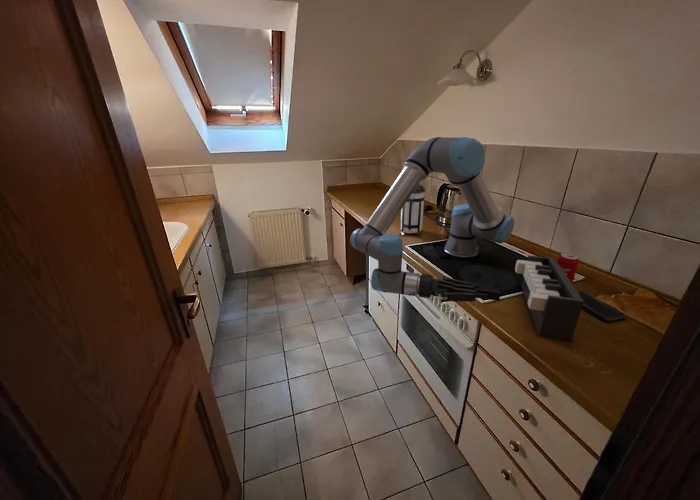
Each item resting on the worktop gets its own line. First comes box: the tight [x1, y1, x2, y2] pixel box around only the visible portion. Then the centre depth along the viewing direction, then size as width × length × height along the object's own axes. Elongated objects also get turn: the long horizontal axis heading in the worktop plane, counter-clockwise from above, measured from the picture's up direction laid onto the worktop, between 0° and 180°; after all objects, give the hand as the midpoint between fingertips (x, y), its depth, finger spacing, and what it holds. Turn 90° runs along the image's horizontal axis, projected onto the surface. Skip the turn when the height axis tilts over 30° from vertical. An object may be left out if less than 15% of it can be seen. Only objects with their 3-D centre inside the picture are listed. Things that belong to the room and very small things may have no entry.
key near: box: [527, 292, 557, 311], centre depth 85 cm, size 3×8×4 cm, turn 71°
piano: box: [520, 254, 584, 342], centre depth 95 cm, size 29×10×13 cm, turn 161°
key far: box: [514, 259, 542, 275], centre depth 105 cm, size 3×8×4 cm, turn 71°
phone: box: [577, 291, 626, 323], centre depth 98 cm, size 8×1×15 cm
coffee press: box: [399, 183, 426, 237], centre depth 162 cm, size 17×16×30 cm
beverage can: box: [556, 252, 580, 284], centre depth 110 cm, size 6×6×12 cm
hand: (499, 295), depth 89 cm, fingers closed
